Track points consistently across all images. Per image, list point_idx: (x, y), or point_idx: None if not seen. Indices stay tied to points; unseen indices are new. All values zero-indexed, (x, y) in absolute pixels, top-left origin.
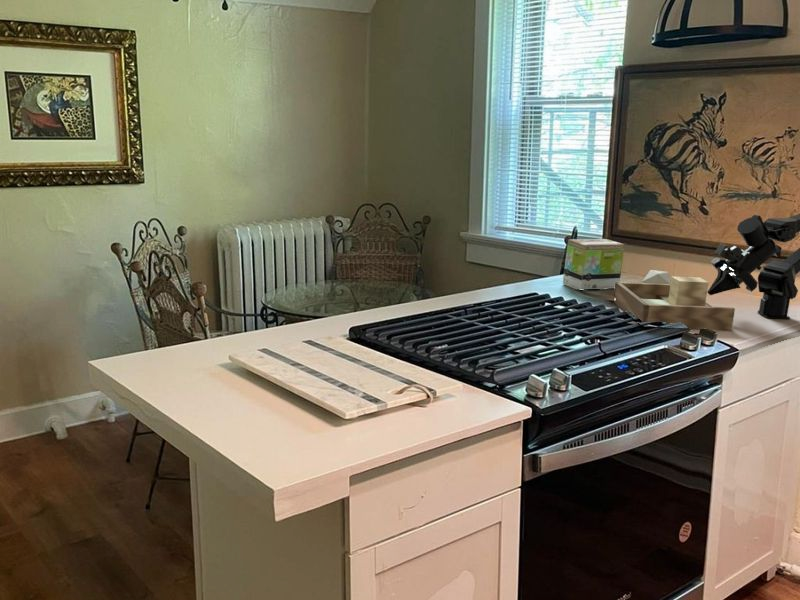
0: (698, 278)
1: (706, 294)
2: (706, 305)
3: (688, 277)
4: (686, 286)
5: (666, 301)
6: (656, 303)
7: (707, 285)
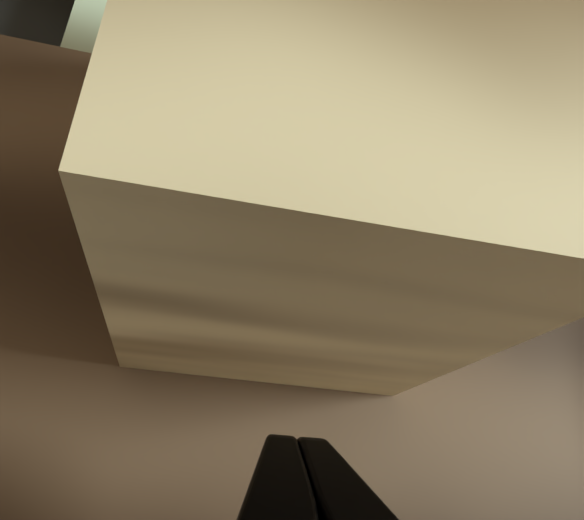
0: (546, 171)
1: (98, 298)
2: None
3: (575, 15)
4: None
5: None
6: None
7: (76, 205)
